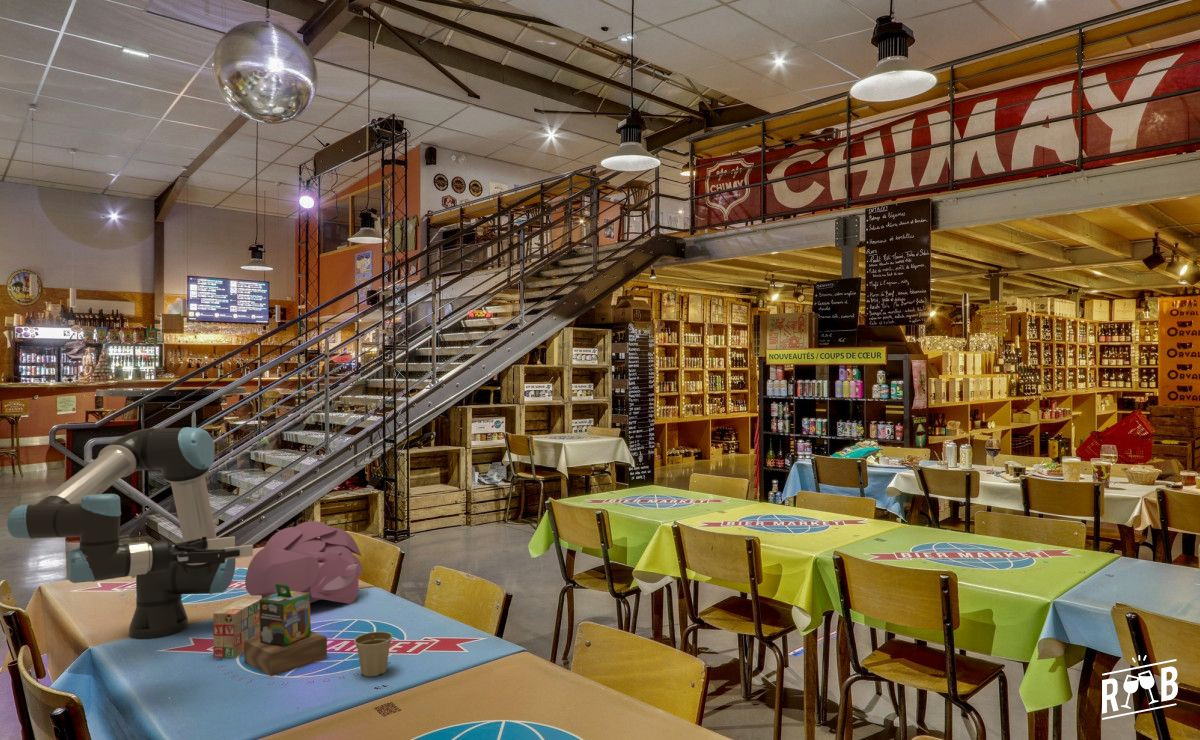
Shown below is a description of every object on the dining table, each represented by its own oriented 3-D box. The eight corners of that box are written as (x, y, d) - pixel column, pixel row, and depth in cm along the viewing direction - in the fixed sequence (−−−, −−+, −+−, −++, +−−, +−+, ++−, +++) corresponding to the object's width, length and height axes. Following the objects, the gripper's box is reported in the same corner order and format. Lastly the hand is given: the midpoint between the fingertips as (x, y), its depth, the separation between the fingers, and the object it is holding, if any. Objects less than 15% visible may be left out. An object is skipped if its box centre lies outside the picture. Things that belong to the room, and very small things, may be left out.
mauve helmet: (342, 602, 257) (340, 521, 263) (381, 600, 242) (378, 514, 249) (242, 617, 229) (243, 527, 235) (280, 616, 215) (280, 520, 221)
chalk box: (311, 635, 192) (311, 580, 192) (283, 647, 183) (283, 589, 184) (286, 631, 195) (286, 577, 196) (258, 642, 187) (258, 585, 187)
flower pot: (357, 682, 174) (357, 647, 174) (351, 669, 183) (351, 635, 183) (396, 675, 179) (396, 640, 179) (388, 662, 187) (388, 629, 187)
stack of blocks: (259, 630, 213) (259, 589, 213) (278, 631, 212) (278, 589, 212) (212, 658, 191) (212, 612, 192) (234, 658, 191) (234, 612, 191)
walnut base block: (244, 663, 188) (244, 640, 188) (298, 647, 200) (298, 625, 200) (271, 677, 179) (271, 653, 179) (327, 659, 190) (326, 637, 190)
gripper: (135, 564, 178) (227, 552, 193) (161, 584, 160) (259, 569, 175) (136, 533, 178) (228, 524, 193) (162, 550, 161) (260, 538, 175)
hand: (243, 545), depth 184 cm, fingers open, 13 cm apart
